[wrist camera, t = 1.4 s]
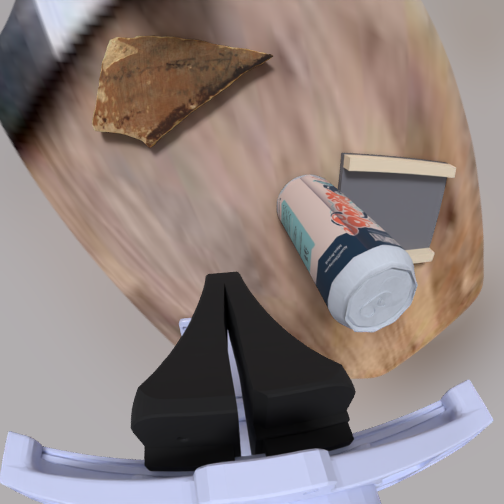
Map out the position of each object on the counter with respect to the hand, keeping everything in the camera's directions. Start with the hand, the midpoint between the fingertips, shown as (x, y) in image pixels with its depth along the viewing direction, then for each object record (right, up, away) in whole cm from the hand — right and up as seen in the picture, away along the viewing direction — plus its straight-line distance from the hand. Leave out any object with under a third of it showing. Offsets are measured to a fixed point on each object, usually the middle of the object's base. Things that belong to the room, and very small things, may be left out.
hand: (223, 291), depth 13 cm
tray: (+14, +5, +12) cm, 19 cm away
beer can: (+5, +6, +10) cm, 13 cm away
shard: (-5, +14, +4) cm, 15 cm away
